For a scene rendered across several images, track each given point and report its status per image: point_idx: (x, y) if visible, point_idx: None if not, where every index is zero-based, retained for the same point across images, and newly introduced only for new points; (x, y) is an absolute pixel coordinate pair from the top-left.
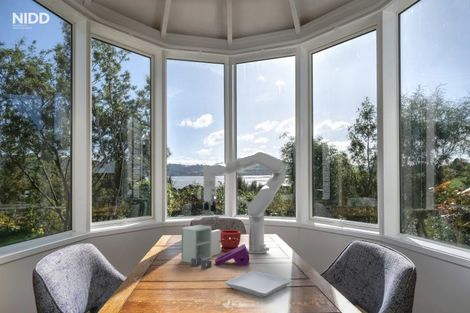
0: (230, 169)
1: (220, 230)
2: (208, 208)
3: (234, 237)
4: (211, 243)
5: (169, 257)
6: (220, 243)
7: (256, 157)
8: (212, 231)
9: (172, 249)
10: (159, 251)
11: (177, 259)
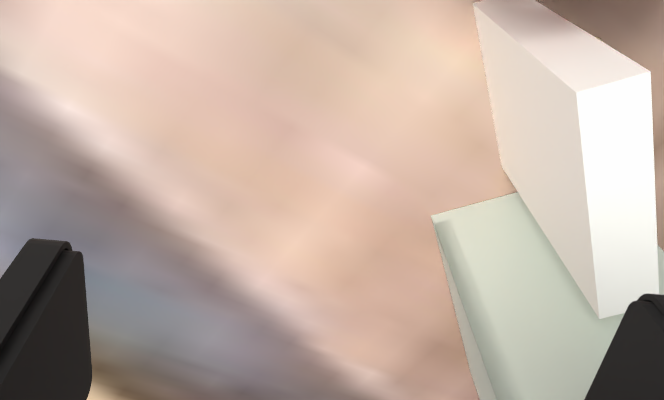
0: None
1: (645, 71)
2: (64, 288)
3: None
4: (659, 247)
5: (325, 395)
6: (558, 16)
7: None
8: (637, 247)
9: None
10: (95, 389)
11: (415, 376)
